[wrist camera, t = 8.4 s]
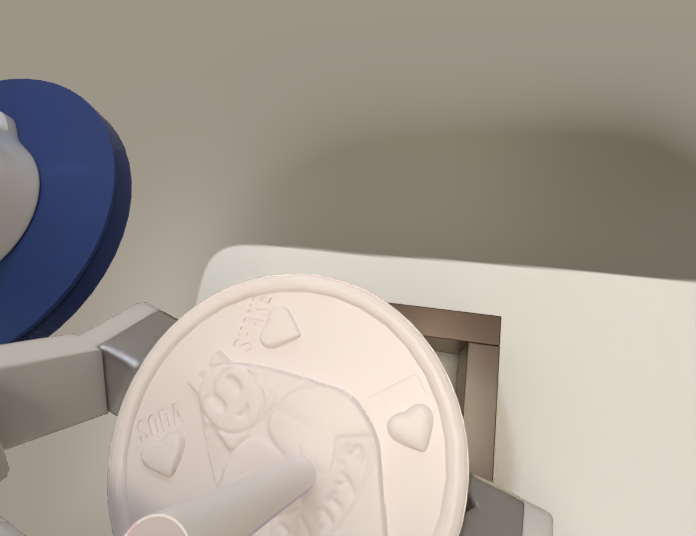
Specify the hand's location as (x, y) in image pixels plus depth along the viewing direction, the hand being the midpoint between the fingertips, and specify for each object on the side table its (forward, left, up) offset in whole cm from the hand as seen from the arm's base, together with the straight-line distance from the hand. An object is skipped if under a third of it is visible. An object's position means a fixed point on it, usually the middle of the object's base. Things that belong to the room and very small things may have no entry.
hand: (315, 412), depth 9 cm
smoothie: (0, -1, -8) cm, 8 cm away
